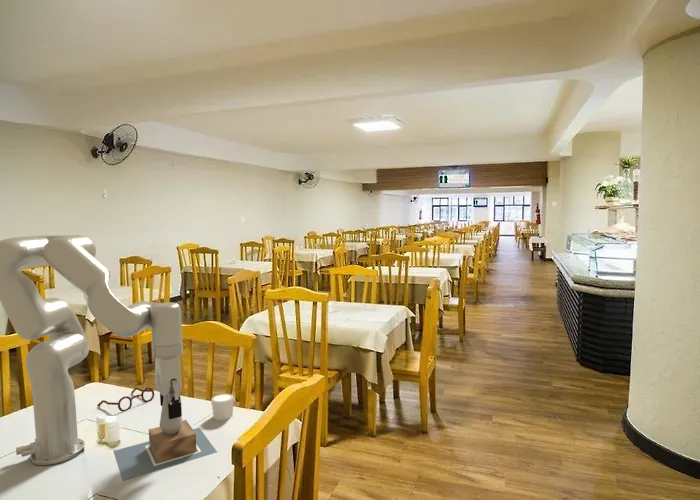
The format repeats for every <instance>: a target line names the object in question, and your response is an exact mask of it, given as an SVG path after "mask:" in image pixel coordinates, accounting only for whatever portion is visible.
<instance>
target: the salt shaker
mask: <svg viewBox="0 0 700 500" xmlns="http://www.w3.org/2000/svg"><path fill="white" fill-rule="evenodd" d="M169 392H173V391H169ZM172 396H174V395H171V399H172ZM168 404H169V400H168V395H165V396H164V398H163V405H162V406H161V412H160V421H159V427H160V428H161V429H162V431H163V433H164V434H166V435H171V434H175V433H177V432H179V431H180V428H181V425H182V421H183V417H182V416H183V415H182V416H181V417H178V418H174V419H169V415H168Z"/></svg>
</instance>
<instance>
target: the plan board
mask: <svg viewBox="0 0 700 500" xmlns="http://www.w3.org/2000/svg"><path fill="white" fill-rule="evenodd" d="M192 429H193V430H194V432H195V433H196V449H197V451H196V452H193V453H190V454H186V455H183V456H180V457H176V458H173V459H170V460H166V461H163V462H160V463H157V462H156V459H155V457H154V455H153V453H152V451H151V449H150V444H149V440H148V441H145V442H142V443H137V444H134V445H130V446H126V447H123V448H119V449H116V450H113V454H114V456H115V460H116V463H117V467H118V469H119V473H120V476H121V480H122V482H125V481H128V480H131V479H135V478H137V477H140V476H144V475H147V474H150V473H151V474H152V473H154V472H157V471H158V472H159V471H161V470H163V469H167V468H170V467H173V466H177V465H179V464H184V463H186V462H189V461H190V462H191V461H192V460H196V459H199V458H202V457H203V458H204V457H205V456H206V457H207V456H209V455H212V454H216V453H218V451H217V450H216V448H215V447H214V446H213V444H212V443H211V442H210V440H209V439H208V437H207V436H206V435H205V433H204V432H203V430H201V428H200V427H196V428H192Z"/></svg>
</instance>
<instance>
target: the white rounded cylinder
mask: <svg viewBox="0 0 700 500" xmlns="http://www.w3.org/2000/svg"><path fill="white" fill-rule="evenodd" d="M210 401H211V407H212V416H213V419H214V420H216V421H225V420H230V418H233V413H234V412H233V411H234V395H233V394H231V393H220V394H216V395H214V396H213V397H211V400H210Z"/></svg>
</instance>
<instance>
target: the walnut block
mask: <svg viewBox="0 0 700 500" xmlns="http://www.w3.org/2000/svg"><path fill="white" fill-rule="evenodd" d="M182 420H183V419H182ZM193 429H194V428H192V426H191V425H190V424H189V422H188V420H187V419H184V420H183V421H182V425H181V428H180V431H179V432H177V433H175V434H171V435H166V434H164V433H163V431H162V429H161V428H160V426H157V427H152V428H149V429H148V441H149V444H150V449H151V451H152V453H153V455H154V457H155V459H156V462H157V463H160V462H163V461H166V460H170V459H173V458H176V457H180V456H183V455H186V454H190V453H193V452H196V451H197V449H196V433H195V432H194V430H193Z"/></svg>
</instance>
